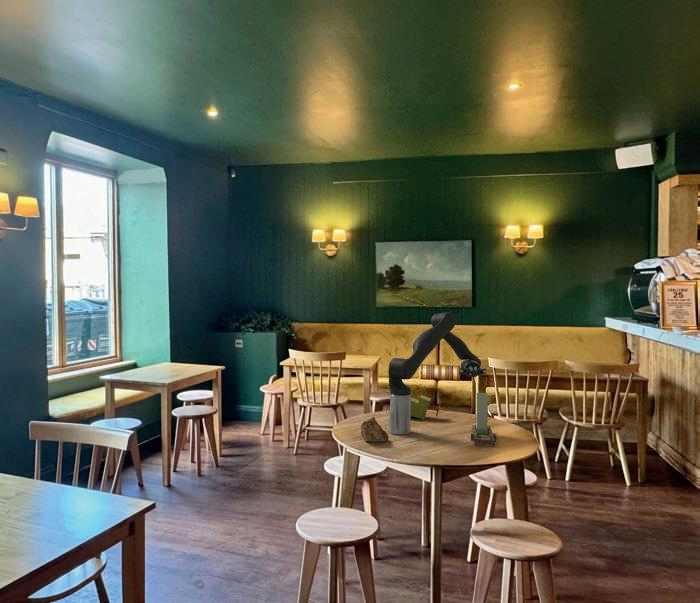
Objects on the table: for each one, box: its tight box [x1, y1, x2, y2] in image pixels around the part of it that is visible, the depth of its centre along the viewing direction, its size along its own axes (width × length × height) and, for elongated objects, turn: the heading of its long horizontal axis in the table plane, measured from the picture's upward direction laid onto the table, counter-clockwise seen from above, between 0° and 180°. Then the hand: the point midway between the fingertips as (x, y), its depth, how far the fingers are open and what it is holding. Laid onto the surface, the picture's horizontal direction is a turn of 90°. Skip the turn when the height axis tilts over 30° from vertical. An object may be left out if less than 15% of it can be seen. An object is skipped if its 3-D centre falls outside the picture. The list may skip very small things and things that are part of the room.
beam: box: [470, 425, 497, 448], centre depth 218 cm, size 24×10×3 cm, turn 169°
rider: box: [475, 392, 489, 434], centre depth 226 cm, size 6×5×17 cm
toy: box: [411, 394, 441, 421], centre depth 256 cm, size 9×12×20 cm
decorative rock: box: [360, 416, 390, 443], centre depth 213 cm, size 12×6×11 cm, turn 105°
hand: (473, 373), depth 235 cm, fingers closed
